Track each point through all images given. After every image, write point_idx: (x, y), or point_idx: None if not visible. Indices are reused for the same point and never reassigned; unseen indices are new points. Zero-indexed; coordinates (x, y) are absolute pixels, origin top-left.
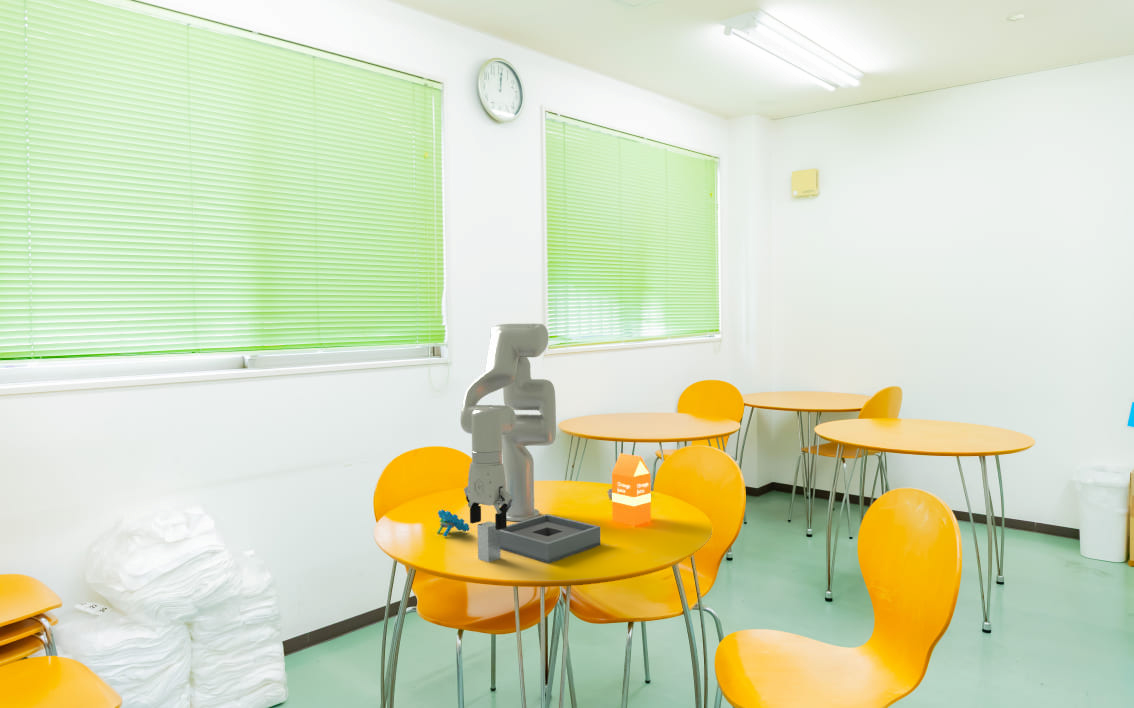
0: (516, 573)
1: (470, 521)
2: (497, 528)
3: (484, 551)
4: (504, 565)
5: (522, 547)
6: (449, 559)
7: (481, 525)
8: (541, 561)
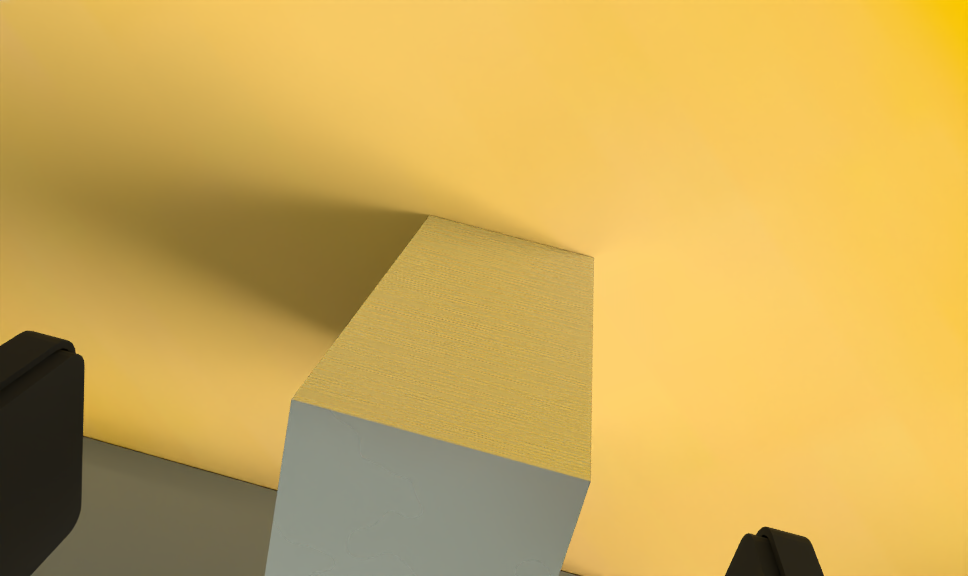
0: (4, 80)
1: (801, 548)
2: (23, 348)
3: (472, 266)
4: (250, 225)
5: (234, 543)
6: (923, 130)
7: (479, 457)
8: None
